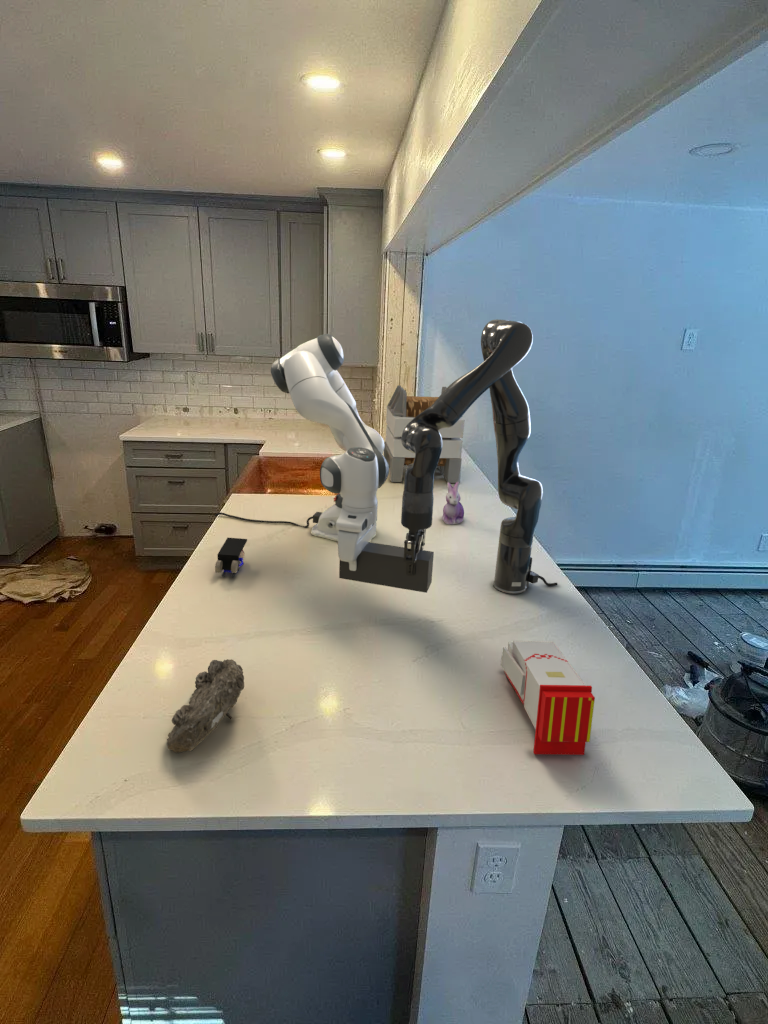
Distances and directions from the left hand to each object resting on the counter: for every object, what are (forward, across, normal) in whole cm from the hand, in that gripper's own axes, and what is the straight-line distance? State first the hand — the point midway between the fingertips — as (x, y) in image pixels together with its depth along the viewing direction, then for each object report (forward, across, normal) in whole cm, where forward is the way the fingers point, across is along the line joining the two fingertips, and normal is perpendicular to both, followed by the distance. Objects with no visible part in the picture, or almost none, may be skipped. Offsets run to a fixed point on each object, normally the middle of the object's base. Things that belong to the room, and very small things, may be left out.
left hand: (358, 563), depth 146 cm
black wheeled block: (+12, -8, -41) cm, 44 cm away
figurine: (+12, -74, +13) cm, 76 cm away
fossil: (+12, +50, -12) cm, 53 cm away
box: (+3, 0, +8) cm, 8 cm away
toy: (+12, +26, +47) cm, 55 cm away
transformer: (+12, -134, -13) cm, 135 cm away
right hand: (-1, 0, +15) cm, 15 cm away
